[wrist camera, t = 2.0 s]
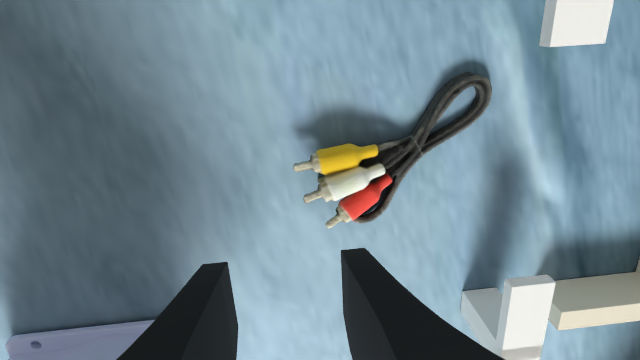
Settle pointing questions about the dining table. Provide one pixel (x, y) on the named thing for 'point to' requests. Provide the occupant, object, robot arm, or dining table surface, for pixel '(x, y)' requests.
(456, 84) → the composite cable
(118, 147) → the dining table surface
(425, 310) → the robot arm
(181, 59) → the dining table surface
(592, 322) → the end holder
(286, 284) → the dining table surface
